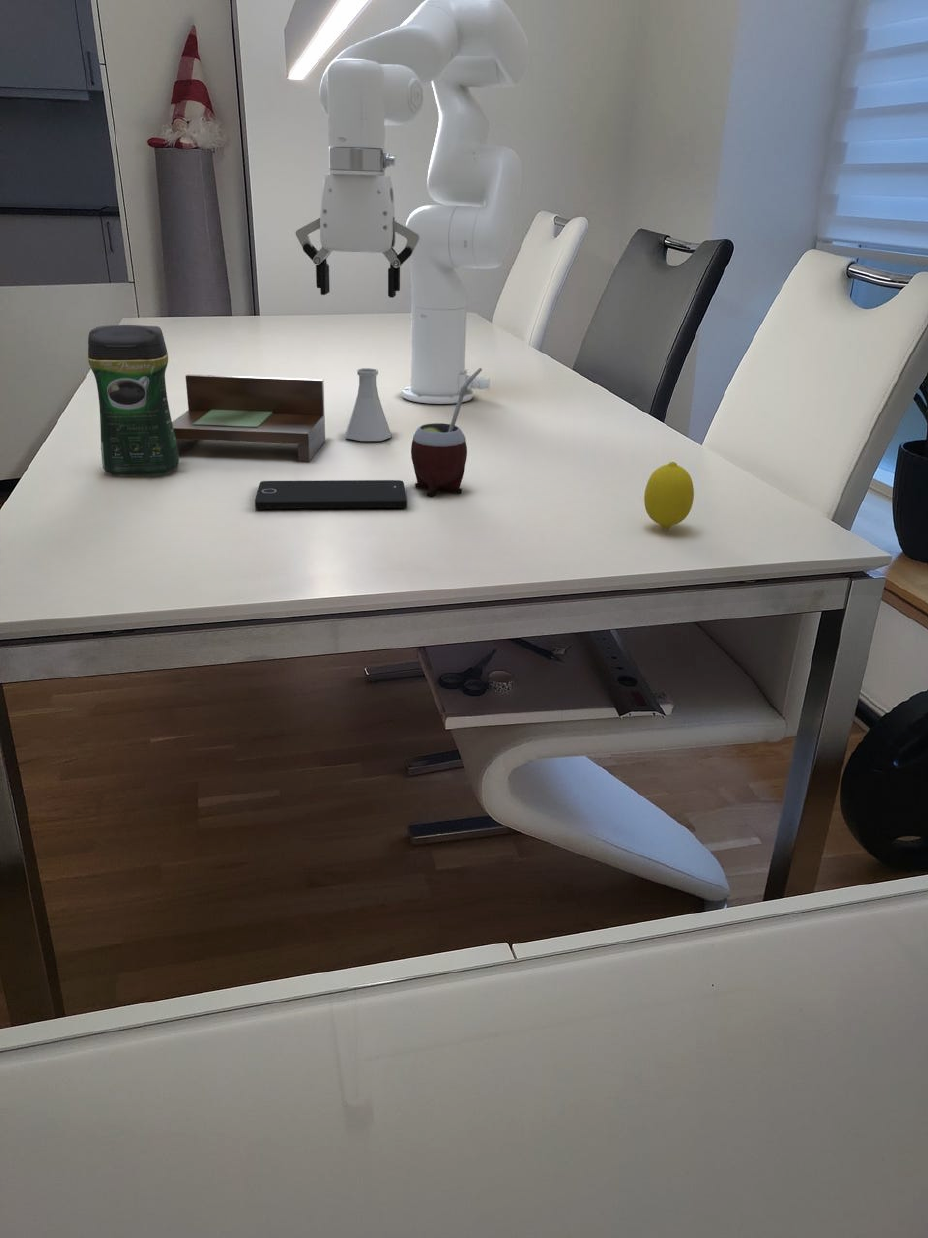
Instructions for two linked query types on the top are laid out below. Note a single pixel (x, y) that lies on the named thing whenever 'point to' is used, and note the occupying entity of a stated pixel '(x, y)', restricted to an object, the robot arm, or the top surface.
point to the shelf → (253, 412)
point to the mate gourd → (441, 453)
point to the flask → (367, 411)
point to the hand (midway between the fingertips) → (358, 295)
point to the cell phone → (331, 494)
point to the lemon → (669, 495)
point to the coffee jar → (133, 399)
